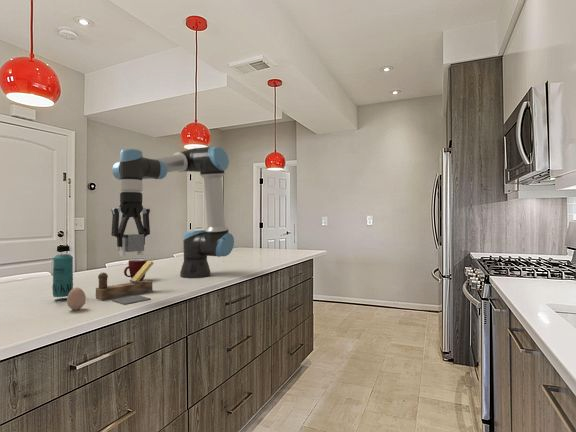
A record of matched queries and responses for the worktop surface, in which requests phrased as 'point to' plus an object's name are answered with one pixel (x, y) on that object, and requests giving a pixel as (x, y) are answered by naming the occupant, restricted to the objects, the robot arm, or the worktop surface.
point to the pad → (131, 299)
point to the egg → (76, 298)
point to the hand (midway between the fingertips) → (131, 255)
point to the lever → (141, 272)
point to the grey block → (134, 242)
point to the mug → (135, 267)
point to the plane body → (120, 288)
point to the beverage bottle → (62, 273)
